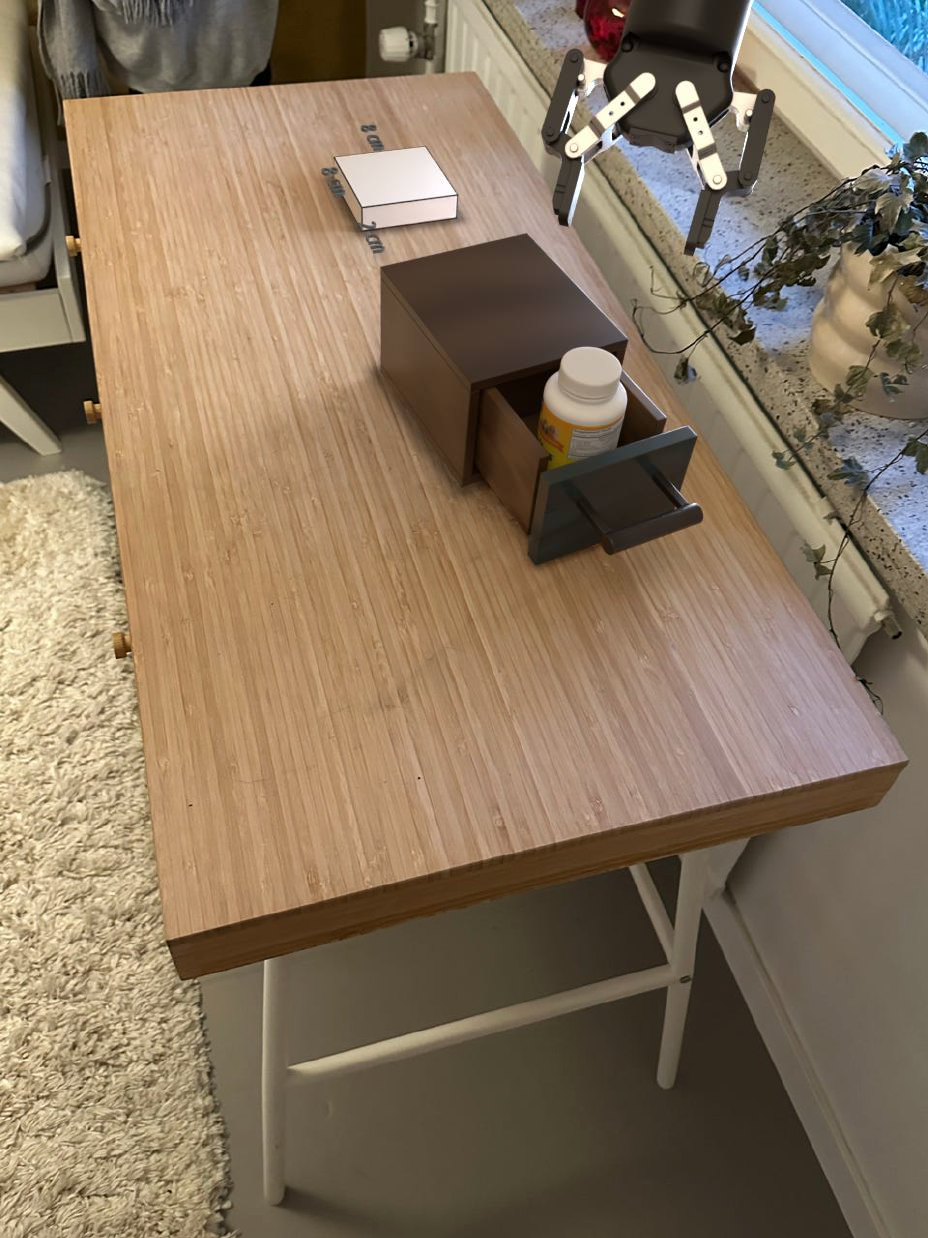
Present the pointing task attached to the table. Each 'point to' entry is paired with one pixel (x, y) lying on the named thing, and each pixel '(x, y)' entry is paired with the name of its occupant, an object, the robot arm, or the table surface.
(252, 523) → the table surface
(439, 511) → the table surface
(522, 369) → the cabinet
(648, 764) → the table surface
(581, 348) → the supplement bottle
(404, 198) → the container
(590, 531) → the drawer
